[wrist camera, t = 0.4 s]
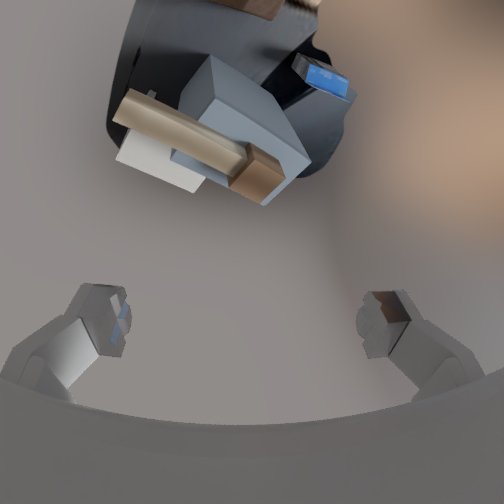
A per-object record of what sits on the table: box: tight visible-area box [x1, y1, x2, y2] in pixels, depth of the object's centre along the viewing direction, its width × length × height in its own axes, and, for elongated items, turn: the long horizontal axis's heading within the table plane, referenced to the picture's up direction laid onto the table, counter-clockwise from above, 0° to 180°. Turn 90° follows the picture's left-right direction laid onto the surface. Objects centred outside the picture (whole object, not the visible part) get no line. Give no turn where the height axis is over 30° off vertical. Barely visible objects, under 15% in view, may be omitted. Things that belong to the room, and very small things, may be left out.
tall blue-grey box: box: [170, 55, 311, 206], centre depth 43 cm, size 10×16×26 cm, turn 50°
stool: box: [115, 90, 206, 193], centre depth 49 cm, size 8×16×16 cm, turn 50°
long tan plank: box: [112, 88, 286, 204], centre depth 30 cm, size 5×21×4 cm, turn 51°
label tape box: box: [291, 53, 350, 102], centre depth 44 cm, size 9×4×12 cm, turn 71°
